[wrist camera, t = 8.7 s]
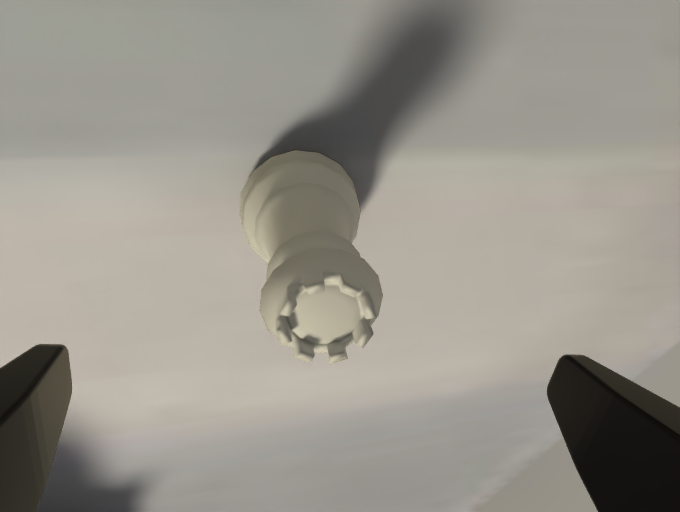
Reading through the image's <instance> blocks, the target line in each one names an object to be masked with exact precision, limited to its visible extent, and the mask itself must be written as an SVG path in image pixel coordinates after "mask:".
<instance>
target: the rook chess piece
mask: <svg viewBox="0 0 680 512" xmlns="http://www.w3.org/2000/svg"><path fill="white" fill-rule="evenodd" d="M360 212H361V211H360V207H359V202H358V198H357V194H356V190H355V188H354V184H353V181H352V180H351V178H350V177H349V176H348V174H347V173H346V172H345V171H344V169H343V168H342V167H341V165H340V164H338V163H337V162H335V161H333V160H331V159H329V158H328V157H326V156H324V155H322V154H320V153H316V152H307V151H297V150H294V151H290V152H287V153H283V154H280V155H277V156H273V157H271V158H269V159H268V160H267V161H266V162H264V163H263V164H262V165H261V166H259V167H258V168H257V169H255V170H254V171H253V172H252V174H251V175H250V177H249V179H248V181H247V183H246V185H245V187H244V188H243V190H242V192H241V206H240V216H241V218H242V226H243V229H244V231H245V234H246V237H247V239H248V242H249V244H250V246H251V247H252V248H253V249H254V250H255V251H256V252H257V253H258V254H259V255H260V256H261V257H262V258H263V259H264V260H265V261H266V262H267V263H268V270H267V280H266V283H265V285H264V286H263V288H262V290H261V301H260V313H261V316H262V318H263V321H264V323H265V326H266V328H267V330H268V331H269V332H270V333H271V334H272V335H273V336H274V337H276V338H277V339H278V340H279V341H280V343H281V345H282V346H283V345H287V346H290V347H292V348H293V352H294V358H297V359H300V360H302V361H305V362H308V363H311V362H312V360H313V358H314V355H315V354H314V353H328V358H329V363H330V364H331V363H335V362H338V361H341V360H345V359H348V357H347V353H346V349H345V347H346V346H348V345H349V344H351V343H352V342H354V341H355V343H356V344H358V345H359V346H361V347H362V348H364V346H365V345H366V344H367V342H368V341H369V339H370V338H371V337H372V335H373V331H372V328H371V325H372V324H373V322H374V321H375V319H376V318H377V317H378V315H379V310H380V306H381V301H382V297H383V294H382V290H381V285H380V281H379V277H378V275H377V274H376V273H375V271H374V270H373V269H372V268H371V267H370V265H369V264H368V263H367V262H366V261H365V259H363V258H360V254H359V252H358V251H357V250H356V249H355V247H354V246H353V245H352V244H351V243H352V242H353V240H354V239H355V237H356V234H357V229H358V223H359V218H360Z"/></svg>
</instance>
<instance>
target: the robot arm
mask: <svg viewBox="0 0 680 512" xmlns="http://www.w3.org/2000/svg"><path fill="white" fill-rule="evenodd" d="M71 394H72V379H71V370H70V362H69V353H68V350H67V348H66V347H65V346H64V345H61V344H39V345H36V346H34V347H32V348H31V349H29V350H28V351H26V352H25V353H23V354H21V355H20V356H18V357H17V358H15V359H14V360H12V361H11V362H9V363H7V364H6V365H4V366H3V367H1V368H0V512H36V509H37V507H38V504H39V502H40V499H41V497H42V494H43V492H44V489H45V486H46V483H47V480H48V476H49V473H50V470H51V466H52V463H53V459H54V456H55V452H56V449H57V445H58V441H59V438H60V434H61V431H62V427H63V424H64V420H65V417H66V413H67V410H68V406H69V403H70V399H71ZM547 396H548V400H549V403H550V405H551V407H552V410H553V412H554V415H555V417H556V420H557V422H558V425H559V427H560V430H561V432H562V435H563V437H564V440H565V442H566V445H567V447H568V450H569V452H570V455H571V457H572V460H573V462H574V464H575V467H576V469H577V471H578V473H579V475H580V477H581V479H582V481H583V483H584V485H585V487H586V489H587V491H588V493H589V495H590V497H591V499H592V501H593V503H594V504H595V507H596V509H597V511H598V512H680V407H678V406H676V405H674V404H672V403H671V402H669V401H667V400H665V399H663V398H661V397H659V396H658V395H656V394H654V393H652V392H650V391H649V390H647V389H645V388H643V387H641V386H639V385H638V384H636V383H634V382H632V381H630V380H628V379H627V378H625V377H623V376H621V375H619V374H617V373H616V372H614V371H612V370H610V369H608V368H607V367H605V366H603V365H601V364H599V363H597V362H596V361H594V360H592V359H590V358H588V357H586V356H584V355H563V356H562V357H561V358H560V359H559V361H558V363H557V365H556V367H555V370H554V372H553V374H552V377H551V379H550V381H549V384H548V387H547Z"/></svg>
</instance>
